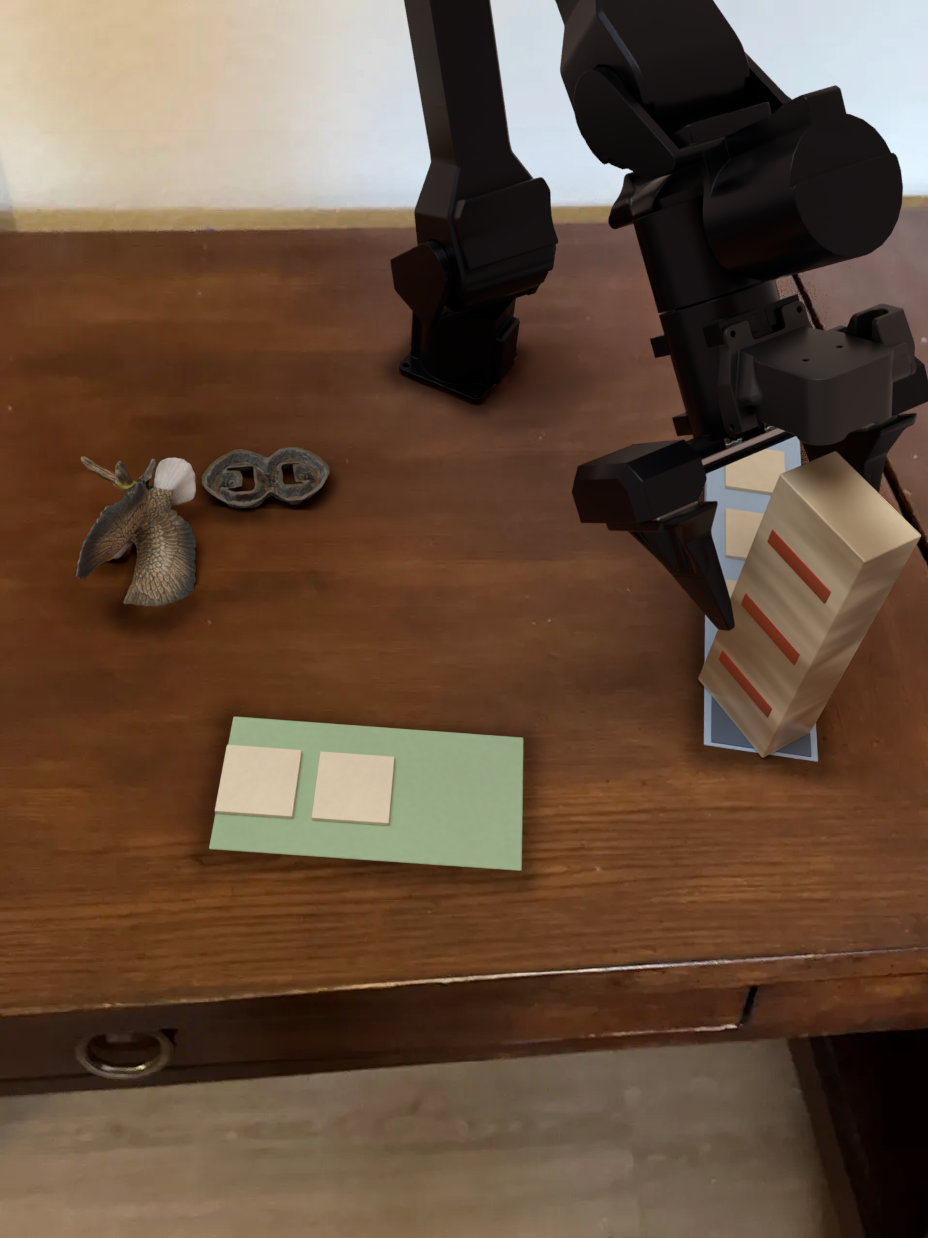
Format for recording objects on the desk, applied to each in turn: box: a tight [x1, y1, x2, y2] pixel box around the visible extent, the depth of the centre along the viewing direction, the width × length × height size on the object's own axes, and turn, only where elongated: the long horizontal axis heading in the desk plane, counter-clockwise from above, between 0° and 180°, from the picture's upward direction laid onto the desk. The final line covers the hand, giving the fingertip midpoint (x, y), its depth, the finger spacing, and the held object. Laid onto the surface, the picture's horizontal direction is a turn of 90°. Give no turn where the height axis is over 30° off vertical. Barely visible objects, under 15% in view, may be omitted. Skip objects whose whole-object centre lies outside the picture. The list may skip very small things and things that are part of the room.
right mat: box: [703, 426, 819, 763], centre depth 79 cm, size 37×6×1 cm, turn 173°
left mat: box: [208, 716, 525, 872], centre depth 64 cm, size 16×8×1 cm, turn 88°
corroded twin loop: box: [201, 446, 331, 509], centre depth 77 cm, size 5×8×1 cm, turn 100°
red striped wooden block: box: [697, 451, 922, 759], centre depth 62 cm, size 4×6×17 cm, turn 30°
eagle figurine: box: [75, 455, 197, 608], centre depth 71 cm, size 8×7×9 cm
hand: (796, 595), depth 62 cm, fingers open, 9 cm apart
